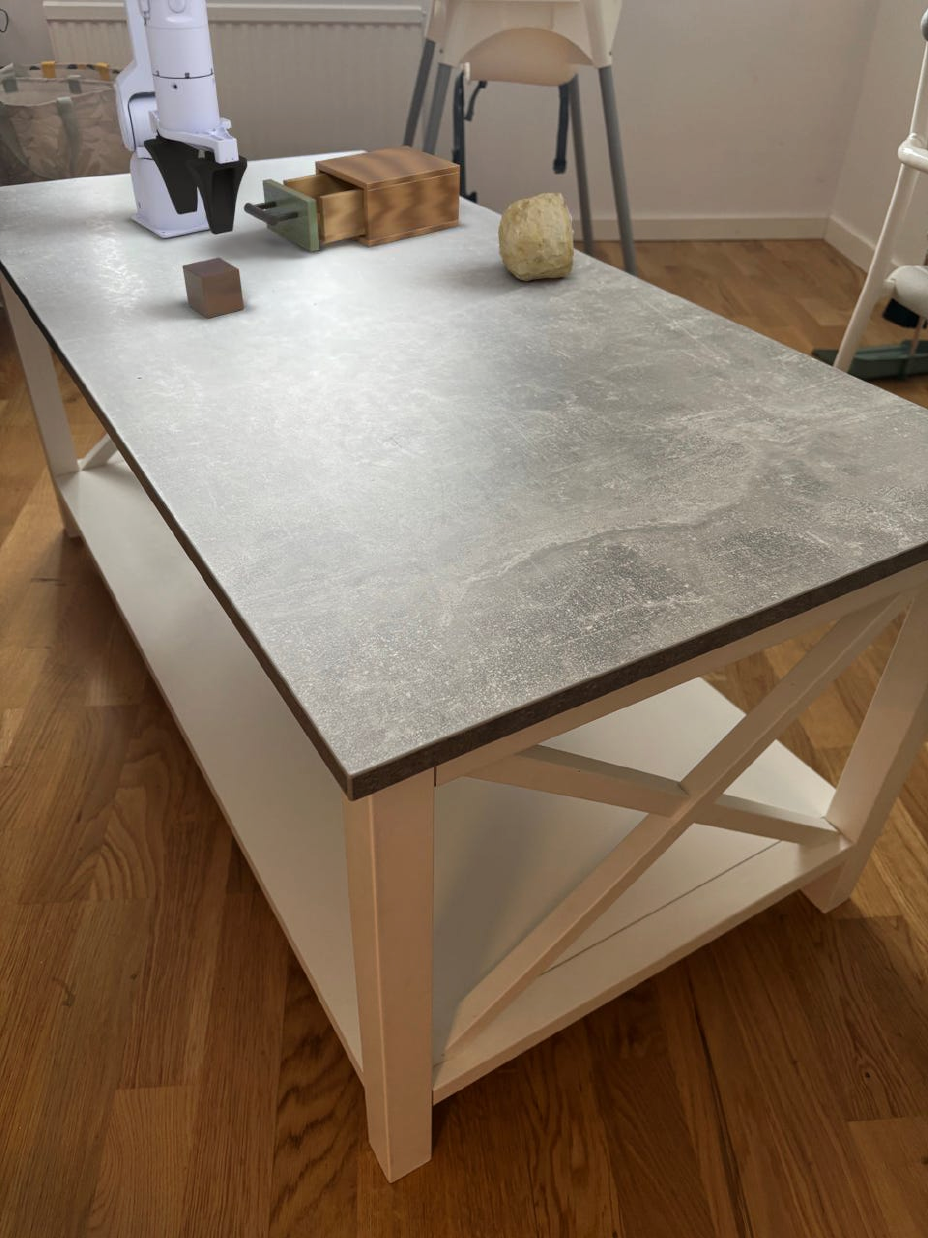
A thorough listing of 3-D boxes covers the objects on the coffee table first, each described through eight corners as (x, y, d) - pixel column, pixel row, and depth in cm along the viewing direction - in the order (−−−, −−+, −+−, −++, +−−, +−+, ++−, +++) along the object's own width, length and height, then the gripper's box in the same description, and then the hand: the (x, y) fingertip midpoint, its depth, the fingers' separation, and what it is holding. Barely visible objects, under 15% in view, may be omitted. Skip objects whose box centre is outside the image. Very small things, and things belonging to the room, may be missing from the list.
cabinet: (369, 247, 121) (366, 183, 116) (318, 222, 127) (314, 161, 123) (458, 225, 128) (460, 164, 123) (406, 203, 135) (406, 145, 130)
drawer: (281, 258, 114) (277, 207, 111) (238, 234, 120) (232, 185, 117) (400, 230, 123) (399, 182, 119) (354, 209, 129) (352, 163, 125)
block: (188, 305, 105) (182, 265, 102) (224, 296, 107) (219, 256, 104) (207, 318, 102) (201, 277, 99) (244, 309, 104) (239, 268, 102)
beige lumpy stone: (609, 228, 107) (533, 193, 103) (564, 308, 113) (490, 277, 109) (587, 195, 114) (515, 161, 110) (546, 272, 120) (476, 242, 116)
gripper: (259, 81, 88) (274, 233, 97) (186, 55, 96) (205, 197, 105) (189, 90, 84) (211, 247, 93) (119, 62, 93) (145, 208, 102)
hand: (204, 221), depth 99 cm, fingers open, 7 cm apart
